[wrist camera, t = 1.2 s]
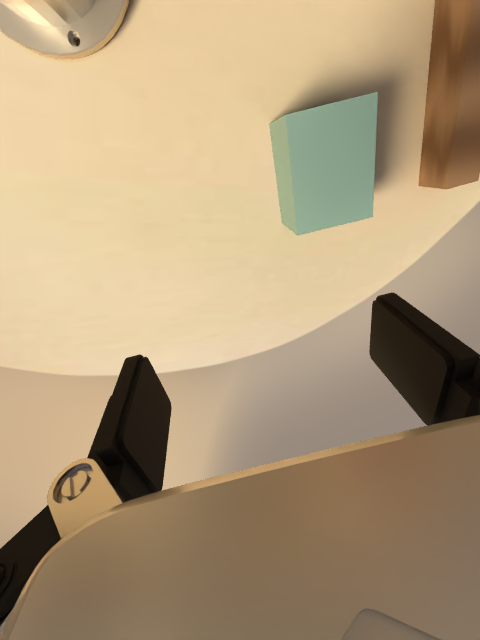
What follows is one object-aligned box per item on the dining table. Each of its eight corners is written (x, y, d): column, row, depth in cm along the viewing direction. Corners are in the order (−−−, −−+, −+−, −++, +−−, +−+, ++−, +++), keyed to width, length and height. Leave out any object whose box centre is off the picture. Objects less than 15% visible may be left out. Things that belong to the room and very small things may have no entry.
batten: (446, -122, 19) (498, -184, 16) (488, -135, 19) (551, -200, 16) (418, 185, 29) (446, 189, 26) (446, 178, 29) (478, 180, 26)
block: (269, 124, 25) (285, 114, 20) (342, 105, 25) (377, 91, 20) (281, 222, 30) (297, 235, 25) (343, 207, 30) (372, 217, 25)
